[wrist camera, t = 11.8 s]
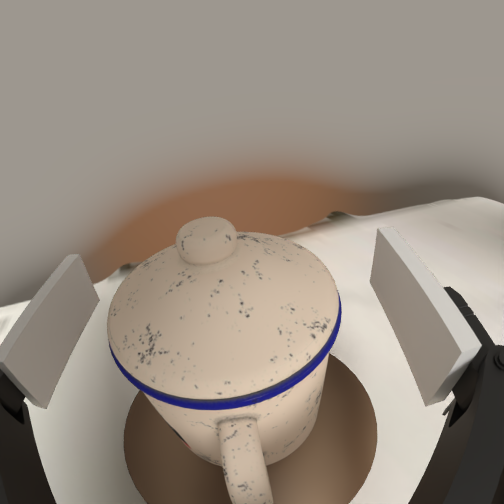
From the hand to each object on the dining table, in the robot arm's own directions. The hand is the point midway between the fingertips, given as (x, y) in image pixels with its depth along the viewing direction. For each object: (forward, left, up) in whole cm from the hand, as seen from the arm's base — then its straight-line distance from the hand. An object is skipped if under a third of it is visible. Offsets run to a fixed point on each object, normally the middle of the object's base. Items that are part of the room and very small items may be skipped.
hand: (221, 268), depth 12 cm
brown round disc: (0, +3, -12) cm, 12 cm away
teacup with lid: (0, +3, -9) cm, 10 cm away
